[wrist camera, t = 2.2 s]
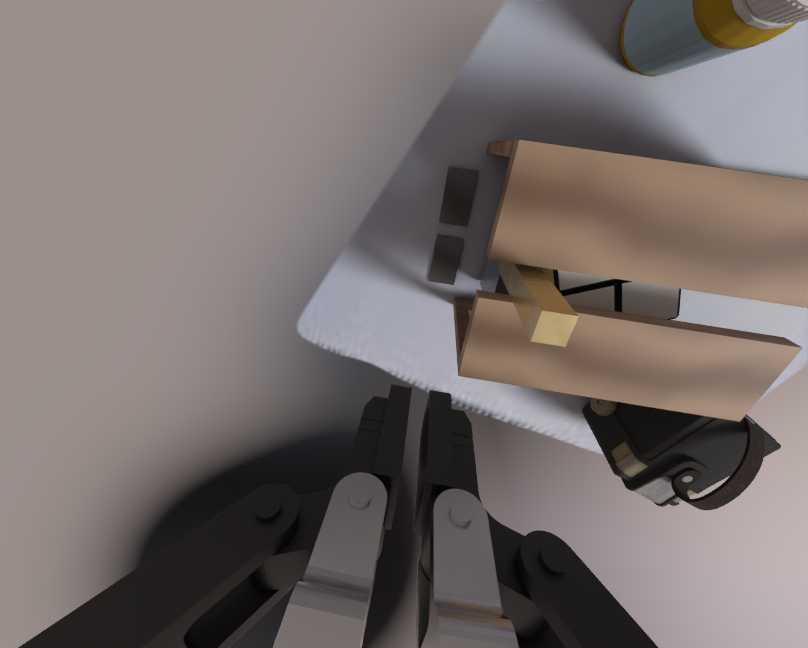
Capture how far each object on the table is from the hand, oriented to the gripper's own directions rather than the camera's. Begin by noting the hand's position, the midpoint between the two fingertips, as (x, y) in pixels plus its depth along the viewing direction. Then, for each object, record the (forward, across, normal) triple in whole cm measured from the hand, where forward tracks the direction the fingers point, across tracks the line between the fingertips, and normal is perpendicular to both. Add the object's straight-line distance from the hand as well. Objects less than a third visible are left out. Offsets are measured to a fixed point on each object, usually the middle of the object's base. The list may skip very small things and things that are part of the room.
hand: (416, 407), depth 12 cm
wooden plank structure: (+29, -21, 0) cm, 36 cm away
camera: (+29, -31, +18) cm, 46 cm away
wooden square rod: (+29, -7, 0) cm, 30 cm away
